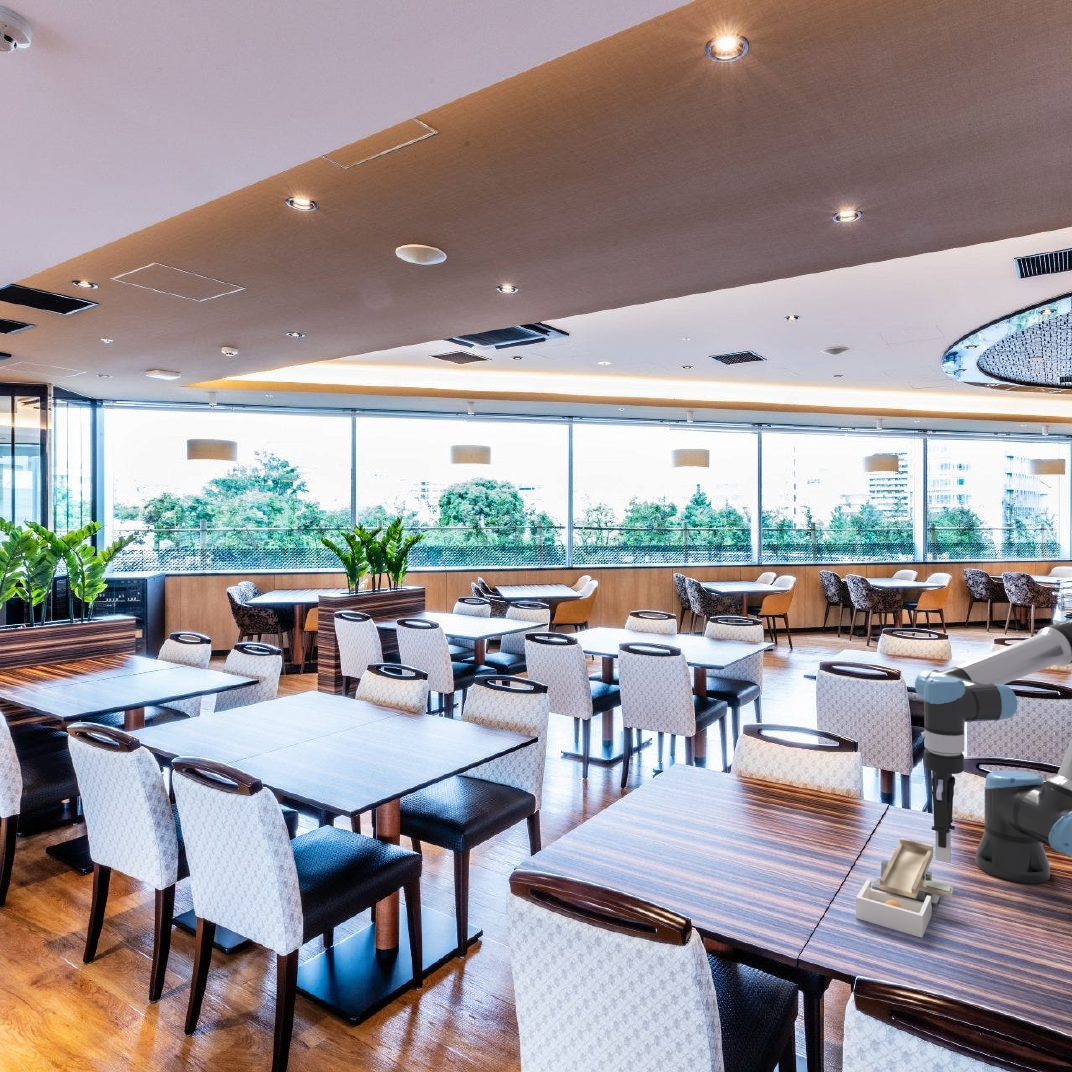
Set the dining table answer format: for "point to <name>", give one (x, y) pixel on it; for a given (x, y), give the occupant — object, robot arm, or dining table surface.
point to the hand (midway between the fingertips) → (943, 860)
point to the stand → (920, 896)
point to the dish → (893, 911)
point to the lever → (911, 871)
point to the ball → (893, 903)
